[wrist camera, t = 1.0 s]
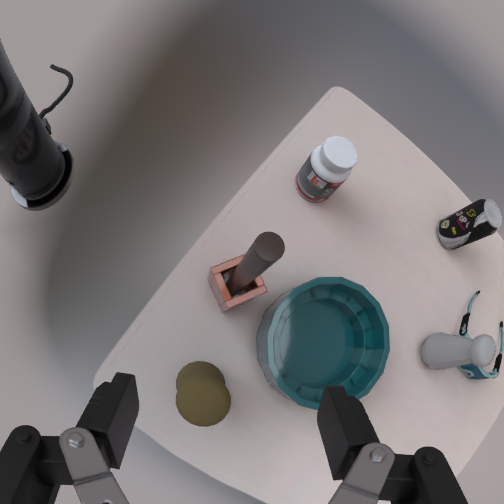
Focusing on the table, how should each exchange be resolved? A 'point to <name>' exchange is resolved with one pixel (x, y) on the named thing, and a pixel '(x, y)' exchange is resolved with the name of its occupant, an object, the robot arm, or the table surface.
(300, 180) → the pill bottle
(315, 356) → the bowl
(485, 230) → the beverage can
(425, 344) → the salt shaker
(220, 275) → the holder
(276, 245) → the stick
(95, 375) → the table surface
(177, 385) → the cork
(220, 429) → the table surface
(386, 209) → the table surface
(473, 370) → the sunglasses
